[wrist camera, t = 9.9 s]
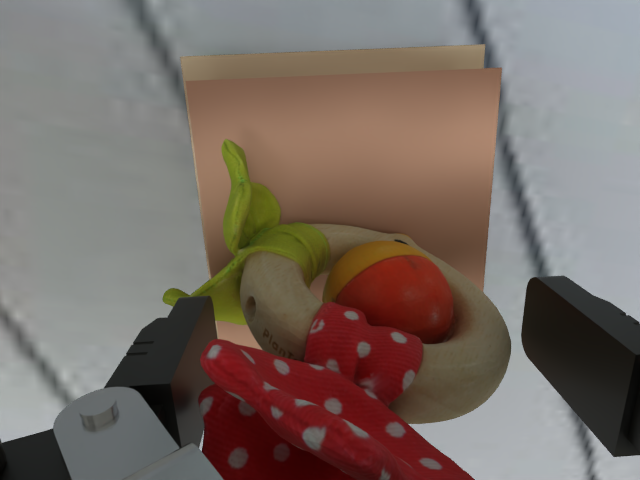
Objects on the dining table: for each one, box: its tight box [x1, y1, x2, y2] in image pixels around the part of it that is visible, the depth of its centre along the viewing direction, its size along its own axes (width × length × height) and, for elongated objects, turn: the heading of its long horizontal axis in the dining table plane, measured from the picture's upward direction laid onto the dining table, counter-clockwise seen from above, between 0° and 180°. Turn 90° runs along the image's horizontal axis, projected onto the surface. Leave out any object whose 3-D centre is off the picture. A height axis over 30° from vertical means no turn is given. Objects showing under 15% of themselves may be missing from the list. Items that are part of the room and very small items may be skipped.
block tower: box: [180, 44, 502, 350], centre depth 20 cm, size 14×12×8 cm
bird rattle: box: [163, 139, 511, 480], centre depth 11 cm, size 6×11×9 cm
